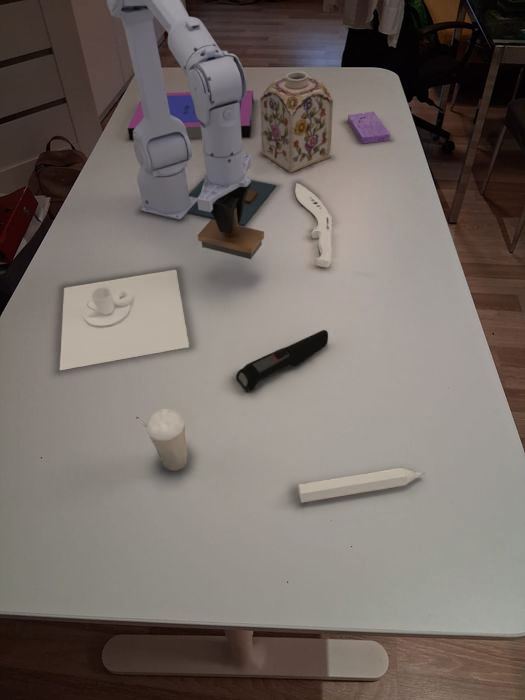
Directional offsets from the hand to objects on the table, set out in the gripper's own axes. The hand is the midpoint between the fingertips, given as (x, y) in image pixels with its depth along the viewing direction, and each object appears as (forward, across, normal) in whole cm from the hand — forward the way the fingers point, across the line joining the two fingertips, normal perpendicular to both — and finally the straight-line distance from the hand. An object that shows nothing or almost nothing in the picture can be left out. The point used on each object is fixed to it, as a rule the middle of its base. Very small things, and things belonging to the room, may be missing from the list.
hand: (230, 226), depth 89 cm
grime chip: (+10, +23, +9) cm, 27 cm away
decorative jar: (+11, +44, +6) cm, 46 cm away
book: (+11, +53, +38) cm, 66 cm away
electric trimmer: (+10, -16, -16) cm, 25 cm away
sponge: (+11, +62, -6) cm, 64 cm away
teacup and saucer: (+10, -17, +13) cm, 23 cm away
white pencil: (+10, -31, -33) cm, 47 cm away
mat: (+10, +22, +13) cm, 28 cm away
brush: (+4, 0, 0) cm, 4 cm away
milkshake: (+10, -38, -9) cm, 40 cm away
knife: (+10, +20, -7) cm, 24 cm away
